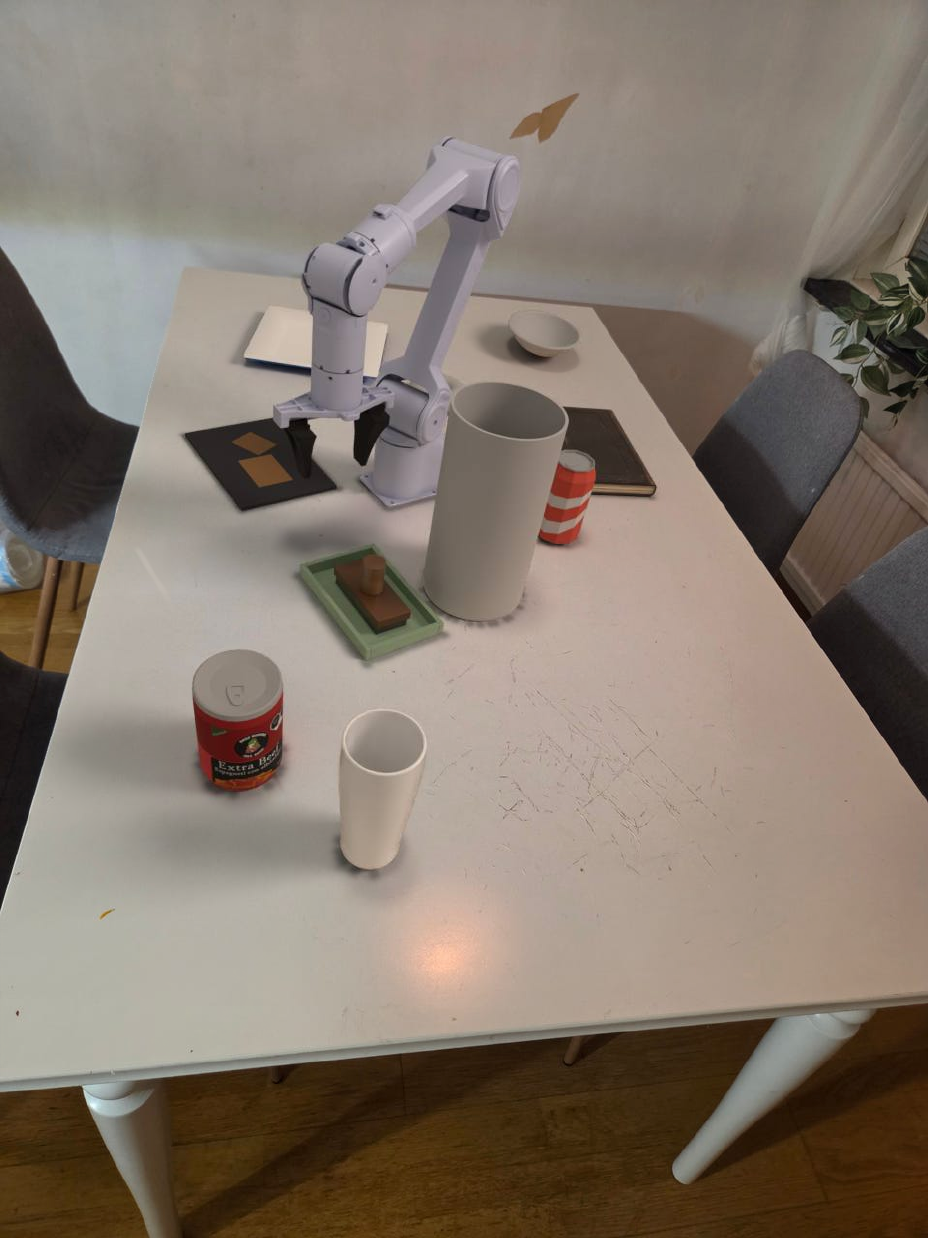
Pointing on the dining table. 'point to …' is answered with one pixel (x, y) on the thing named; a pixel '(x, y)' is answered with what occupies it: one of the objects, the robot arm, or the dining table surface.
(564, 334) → the dish
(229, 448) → the mat
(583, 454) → the beverage can
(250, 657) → the canned food
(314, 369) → the robot arm
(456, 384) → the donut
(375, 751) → the drinking glass
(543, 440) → the cylinder vase
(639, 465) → the hardcover book
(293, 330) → the plate
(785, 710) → the dining table surface
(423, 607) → the tray
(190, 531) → the dining table surface
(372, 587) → the brush
